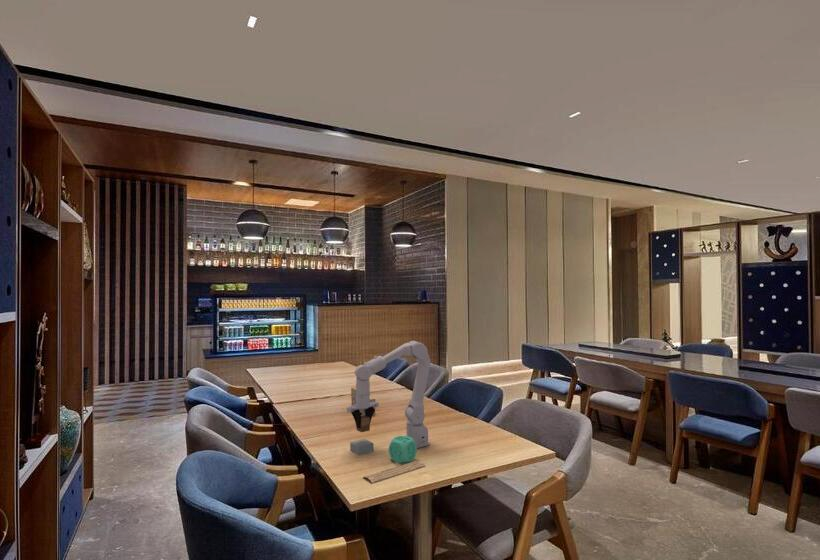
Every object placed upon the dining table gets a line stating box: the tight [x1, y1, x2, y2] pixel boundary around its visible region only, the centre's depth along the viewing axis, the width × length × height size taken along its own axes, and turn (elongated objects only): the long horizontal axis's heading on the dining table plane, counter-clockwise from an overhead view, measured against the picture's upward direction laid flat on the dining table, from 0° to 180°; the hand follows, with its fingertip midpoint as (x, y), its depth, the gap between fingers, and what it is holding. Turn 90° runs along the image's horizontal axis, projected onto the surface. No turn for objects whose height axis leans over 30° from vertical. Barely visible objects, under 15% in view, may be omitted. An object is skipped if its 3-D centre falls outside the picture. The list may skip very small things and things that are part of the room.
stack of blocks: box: [350, 386, 376, 417], centre depth 237 cm, size 21×6×12 cm, turn 28°
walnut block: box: [356, 415, 371, 433], centre depth 178 cm, size 4×4×6 cm
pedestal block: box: [349, 438, 375, 456], centre depth 177 cm, size 7×7×4 cm
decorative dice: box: [388, 435, 418, 464], centre depth 167 cm, size 8×8×8 cm
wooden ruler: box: [362, 460, 426, 485], centre depth 155 cm, size 24×7×2 cm, turn 127°
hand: (363, 426), depth 178 cm, fingers closed on walnut block, 4 cm apart
